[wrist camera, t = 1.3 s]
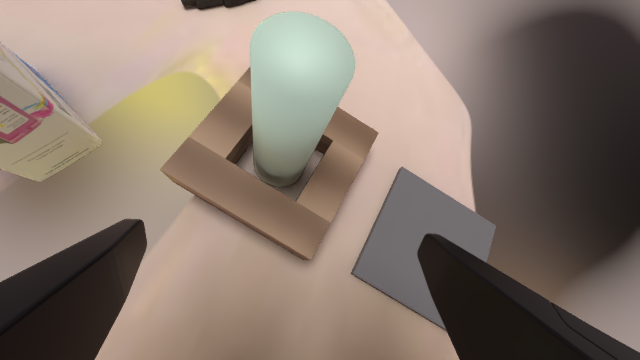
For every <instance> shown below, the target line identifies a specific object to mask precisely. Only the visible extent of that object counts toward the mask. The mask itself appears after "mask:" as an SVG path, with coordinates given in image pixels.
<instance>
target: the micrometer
mask: <svg viewBox="0 0 640 360" xmlns="http://www.w3.org/2000/svg"><path fill="white" fill-rule="evenodd" d="M251 1H255V0H181V2H182V4H183V5H184V6H187V5H193V4H195V5H196V7H197V8H199V9H201V8H207V7H213V6H219V5H223V4H224V6H225V7H231V6H236V5H240V4H243V3H247V2H251Z"/></svg>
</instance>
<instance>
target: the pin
mask: <svg viewBox="0 0 640 360" xmlns="http://www.w3.org/2000/svg"><path fill="white" fill-rule="evenodd" d="M250 67H251V98H252V129H253V160H254V168H255V171H256V173H257V175H258V176H259V178H260V179H261V180H263V181H264V182H265V183H267V184H269V185H272V186H277V187H283V186H288V185H290V184H292V183H294V182H295V181H297V180H298V179H299V177H300V176H301V174H302V172H303V171H304V169H305V167H306V165H307V163H308V161H309V159H310V157H311V155H312V154H313V152H314V150H315V148H316V146H317V144H318V142H319V140H320V138H321V137H322V135H323V133H324V131H325V129H326V127H327V125H328V123H329V121H330V120H331V118H332V116H333V114H334V112H335V110H336V108H337V106H338V104H339V103H340V101H341V99H342V97H343V95H344V93H345V91H346V89H347V87H348V86H349V84H350V82H351V80H352V78H353V75H354V71H355V57H354V53H353V50H352V48H351V46H350V44H349V42H348V40H347V39H346V38H345V36H344V35H343V34H342V33H341V32H340V31H339V30H338V29H337V28H336V27H335V26H333V25H332V24H331V23H329V22H327V21H326V20H324V19H322V18H320V17H317V16H315V15H312V14H308V13H303V12H283V13H279V14H275V15H273V16H271V17H268V18H267V19H265V20H264V21H263V22H261V23H260V24H259V25H258V27H257V28H256V29H255V31H254V33H253V35H252V38H251V42H250Z"/></svg>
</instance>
